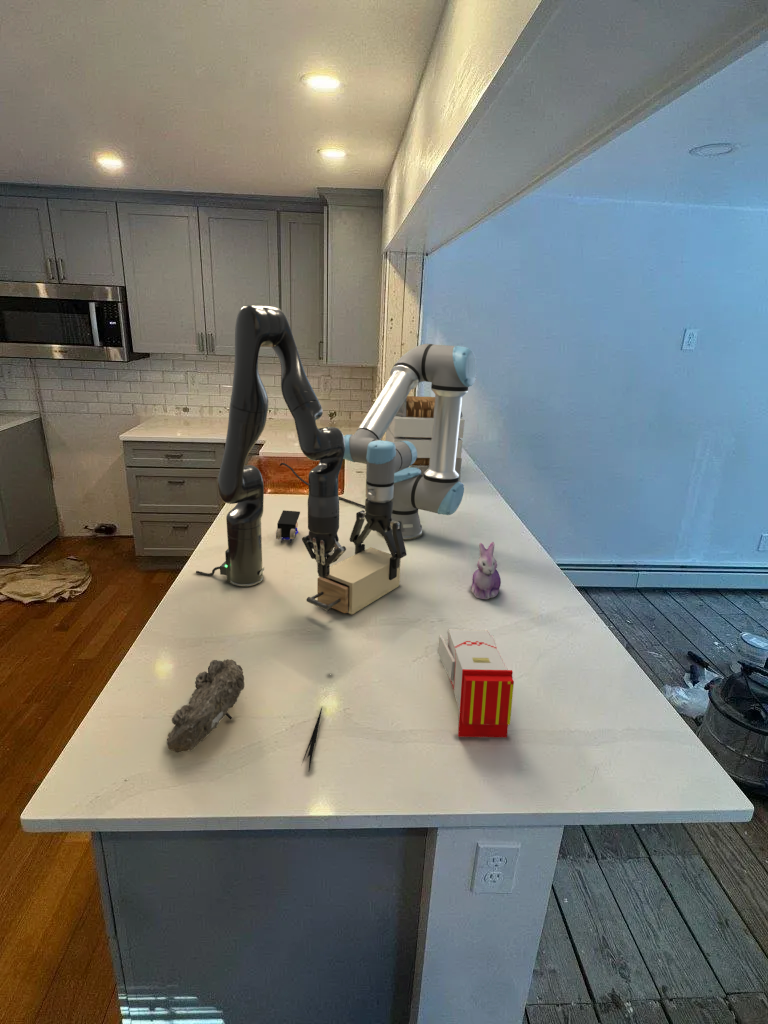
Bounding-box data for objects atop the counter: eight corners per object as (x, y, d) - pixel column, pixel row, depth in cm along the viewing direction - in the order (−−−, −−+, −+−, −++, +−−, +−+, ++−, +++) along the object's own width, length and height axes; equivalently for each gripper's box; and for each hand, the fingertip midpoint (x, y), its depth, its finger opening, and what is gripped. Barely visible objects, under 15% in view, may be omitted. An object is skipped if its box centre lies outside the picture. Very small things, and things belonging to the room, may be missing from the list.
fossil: (192, 660, 117) (244, 628, 112) (224, 691, 120) (276, 661, 115) (142, 746, 98) (202, 712, 93) (182, 779, 101) (242, 748, 96)
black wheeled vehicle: (295, 549, 186) (301, 528, 200) (295, 529, 183) (300, 509, 196) (275, 549, 186) (282, 527, 199) (274, 528, 183) (281, 508, 196)
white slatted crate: (382, 463, 289) (386, 382, 275) (445, 464, 293) (451, 384, 279) (390, 482, 257) (394, 392, 243) (460, 483, 261) (468, 394, 247)
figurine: (482, 603, 154) (488, 553, 149) (461, 587, 163) (466, 539, 158) (510, 597, 158) (516, 547, 153) (487, 581, 167) (493, 534, 162)
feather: (331, 679, 122) (336, 673, 122) (307, 777, 96) (313, 769, 95) (324, 675, 122) (329, 669, 121) (298, 772, 95) (304, 764, 95)
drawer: (330, 622, 140) (330, 597, 138) (302, 609, 146) (302, 585, 143) (390, 586, 160) (392, 563, 157) (364, 576, 165) (364, 554, 163)
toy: (488, 613, 130) (523, 677, 101) (484, 667, 133) (517, 744, 104) (435, 612, 130) (455, 676, 101) (432, 666, 133) (451, 743, 103)
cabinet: (351, 614, 146) (352, 583, 143) (320, 601, 152) (320, 571, 149) (399, 586, 162) (400, 557, 159) (369, 574, 168) (370, 547, 165)
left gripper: (292, 508, 136) (293, 573, 142) (333, 521, 129) (333, 589, 135) (313, 501, 142) (314, 564, 148) (354, 513, 135) (353, 579, 141)
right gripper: (337, 492, 157) (336, 564, 164) (406, 512, 144) (402, 589, 152) (354, 486, 163) (352, 556, 170) (422, 505, 150) (417, 579, 157)
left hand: (323, 576), depth 141 cm, fingers closed
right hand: (376, 572), depth 161 cm, fingers closed on cabinet, 11 cm apart
